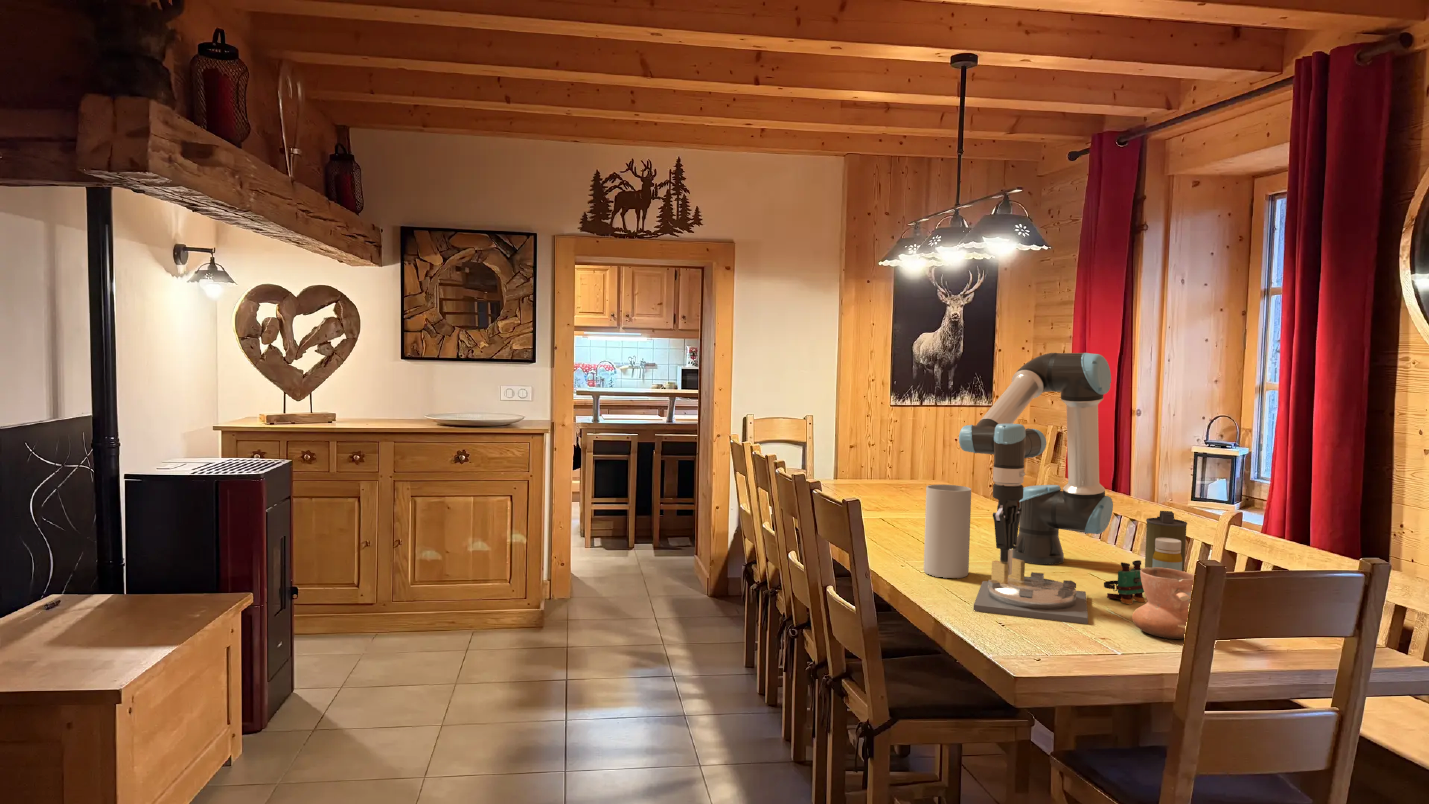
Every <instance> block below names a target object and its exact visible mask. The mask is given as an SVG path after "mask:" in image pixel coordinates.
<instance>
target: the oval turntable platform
mask: <svg viewBox="0 0 1429 804" xmlns="http://www.w3.org/2000/svg"><path fill="white" fill-rule="evenodd" d="M1025 564H1026V562H1025V561H1023V560H1019V559H1015V558H1012V574H1011V575H1008V563H1004V562H1000V560H992V561H991V579H987V580H988V585H989V591H988V595H989V597H991V598H992V599H994V600H996V601H998V602H1001V603H1004V604H1007V605H1011V606H1016V607H1022V608H1029V609H1040V610H1058V609H1066V608H1070V607H1073V606H1074V605H1075V604H1076V591H1077V589H1076V588H1077V582H1075V581H1073V580H1067V579H1066V580H1063V581H1058V580H1053V579H1048V578H1045V577H1044V576H1045V573H1042V572H1033V571H1032V572H1031V573H1030V576H1025V571H1026V569H1025V568H1026V566H1025Z"/></svg>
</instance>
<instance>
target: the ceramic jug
mask: <svg viewBox="0 0 1429 804" xmlns="http://www.w3.org/2000/svg"><path fill="white" fill-rule="evenodd" d="M1140 569H1141V570H1140V575H1141V582H1142V586H1143V589H1144V592H1143V593H1144V595H1145V596H1144V597H1145V601H1146V603H1144V604H1142V605H1141V606H1138V607H1137V608H1136V609H1135V610H1133V613H1132V615H1131V618H1132V622H1133V624H1134V625H1135V626H1136V627H1137V628H1138V629H1139V630H1140V631H1143V632H1145V633H1146V634H1149V635H1152V636H1154V637H1158V638H1163V639H1164V638H1165V639H1171V640H1173V639H1174V640H1182V639H1183V638H1184V634H1185V626H1186V622H1187V618H1188V609H1190V608H1189V606H1190V604H1191V602H1190V600H1191V591H1192V585H1193V580H1194V575H1195V574H1194V573H1190V572H1188V571H1185V570H1184V571H1180V570H1175V569H1169V568H1162V567H1152V568H1148V567H1146V568H1145V567H1143V568H1140ZM1191 601H1192V600H1191ZM1184 639H1185V638H1184Z"/></svg>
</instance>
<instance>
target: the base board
mask: <svg viewBox="0 0 1429 804" xmlns="http://www.w3.org/2000/svg"><path fill="white" fill-rule="evenodd" d="M988 591H989V585H988V581H987V580H982V582H981V585H980V587H979V589H978V592H977V596H976V598H975V600H974V603H973V611H974V610H975V611H974V612H978V611H979V612H981V613H987V612H990V613H989V614H995V613H996V614H998V615H1006V616H1013V615H1014V616H1013V617H1022V618H1031V619H1040V620H1048V621H1049V620H1050V621H1055V620H1057V621H1058V622H1066V623H1073V624H1081V623H1083V624H1082V625H1088V622H1089V618H1088V617H1089V614H1088V604H1087V603H1088V602H1087V592H1086V591H1083V590H1076V604H1075V605H1074V606H1073V607H1070V608H1066V609H1058V610H1040V609H1029V608H1022V607H1016V606H1011V605H1007V604H1004V603H1001V602H998V601H996V600H994V599H992V598H991V597H989V595H988Z"/></svg>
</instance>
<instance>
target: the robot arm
mask: <svg viewBox="0 0 1429 804" xmlns="http://www.w3.org/2000/svg"><path fill="white" fill-rule="evenodd" d="M1111 374H1112V373H1111V369H1110V366H1109V362H1108V361H1107V359H1106V358H1105V357H1104V355H1102V354H1099V353H1089V352H1048V353H1045V354H1044V353H1043V354H1041V355H1039V356H1036V357H1034V358H1033V359H1031V360H1029V361H1028V362H1026V363H1024V364H1023V365H1022V366H1020V368H1018V370H1017V371H1016V372H1015V373H1014V374H1013V375H1012V378H1011V383H1010V384H1009V385H1008V387H1007V388H1006V389H1005V390H1004V392H1003V393H1002V394H1001V395H1000V396H999V397H998V398H997V400H996V401H995V402H994V404H993V405H992V406H991V407H990V408H989V409H988V411H986V413H985V414H984V415H983V416H982V418H981V419H980V420H979V421H978V423H976V425H974V424H970V425H964V426H962V428H961V429H960V431H959V435H958V443H959V447H960V449H961V450H962V451H963V452H968V453H974V454H981V455H983V454H985V455H993V467H992V468H993V470H992V471H993V472H992V481H993V482H994V483H993V485H992V497H993V498H994V499H995V500H998V502H997V509H996V510H997V511H996V512H993V513H992V518H993V522H994V523H993V525H994V535H995V548H996V549H999V561H1000V562H1004V563H1008V575H1011V574H1012V558H1015V559H1019V560H1023V561H1025V563H1028V564H1035V565H1058V564H1063V562H1064V561H1065V557H1064V551H1063V547H1062V544H1061V540H1060V537H1059V533H1060V532H1059V531H1060V530H1062V531H1063V530H1064V531H1070V532H1077V533H1084V534H1092V535H1100V534H1102V533H1104V532H1105V531H1106V530H1107V528H1108V527H1109V525H1110V522H1111V519H1112V515H1113V511H1114V510H1113V509H1114V508H1113V507H1114V502H1113V498H1112V497H1111V496H1109V495H1106V488H1105V487H1104V486H1103V485H1102V484H1101V483H1100V451H1099V450H1100V449H1099V447H1100V446H1099V441H1100V439H1099V405H1100V403H1101V402H1102V401H1103V400H1104V395H1106V394H1108V393H1109V391H1110V390H1111V383H1112V375H1111ZM1046 392H1047V393H1048V392H1054V393H1060V400H1061V402H1063V403H1064V405H1066V438H1067V439H1066V441H1067V479H1068V482H1067V484H1065V485H1064V486H1063V488H1061V486H1060V485H1059V484H1058V485H1057V484H1043V485H1042V484H1039V485H1029V486H1025V487H1024V485H1023V483H1024V482H1025V481H1024V478H1025V476H1026V472H1025V459H1027V458H1031V459H1033V458H1035V457H1037V456H1039V455H1041V454H1043V453H1044V452H1045V449H1046V448H1047V438H1046V436H1045V434H1044V433H1043V432H1042V431H1041V430H1038V428H1037V429H1035V428H1026V427H1025V426H1024V425H1023V424H1021V423H1015V422H1016V421H1017V419H1018V418H1019V416H1020V415H1021V414H1022V413H1023V411H1025V409H1026V408H1027V407H1028V406H1029V404H1030V403H1031V402H1032V400H1033V399H1036V398H1038V397H1040V396H1041V395H1042V394H1043V393H1046ZM1018 503H1019V504H1018ZM1018 505H1019V506H1018Z"/></svg>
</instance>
